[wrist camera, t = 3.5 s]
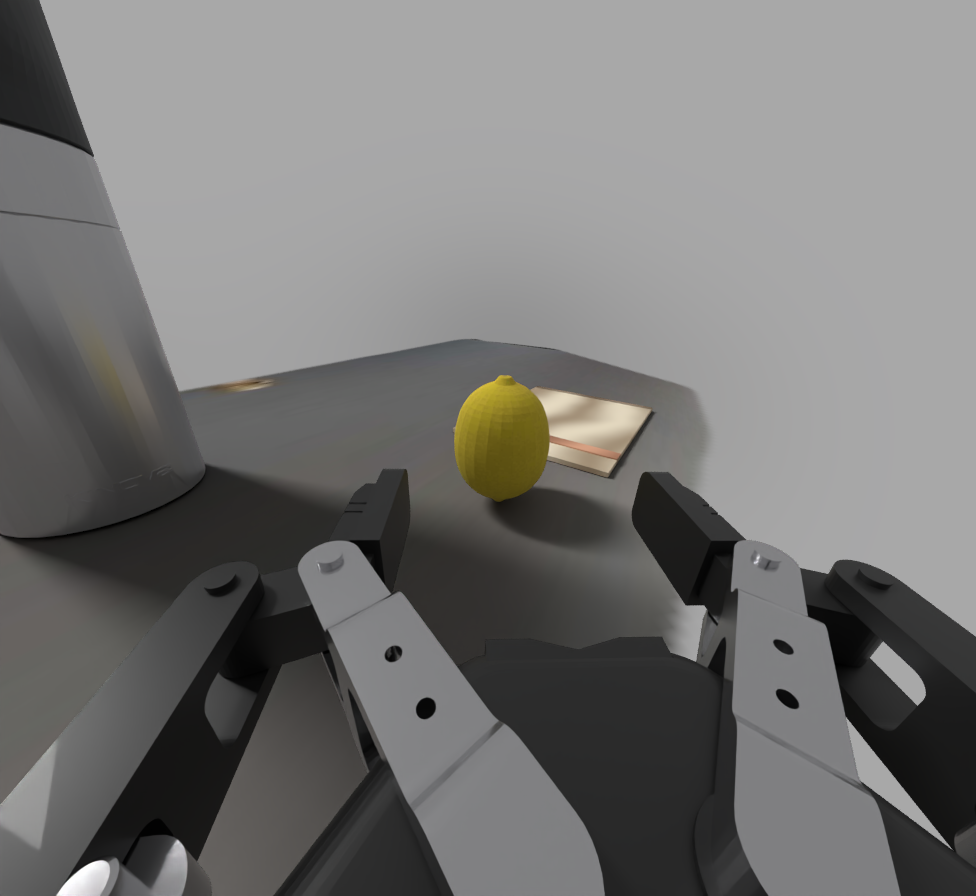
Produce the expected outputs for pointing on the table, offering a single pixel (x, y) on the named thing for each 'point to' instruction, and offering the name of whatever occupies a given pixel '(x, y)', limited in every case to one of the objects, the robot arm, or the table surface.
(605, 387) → the table surface
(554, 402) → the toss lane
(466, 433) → the lemon
